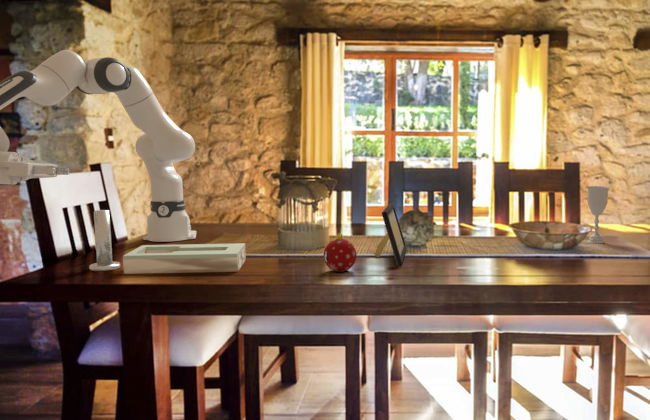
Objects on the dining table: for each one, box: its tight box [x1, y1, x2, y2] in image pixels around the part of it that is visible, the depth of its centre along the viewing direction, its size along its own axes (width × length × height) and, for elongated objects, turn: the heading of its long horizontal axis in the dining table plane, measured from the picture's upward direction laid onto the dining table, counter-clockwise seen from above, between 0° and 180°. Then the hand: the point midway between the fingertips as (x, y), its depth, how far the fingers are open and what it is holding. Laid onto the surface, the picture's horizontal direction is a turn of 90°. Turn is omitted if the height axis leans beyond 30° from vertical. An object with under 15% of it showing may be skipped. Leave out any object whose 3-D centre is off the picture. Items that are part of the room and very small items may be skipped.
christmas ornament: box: [323, 233, 358, 273], centre depth 144 cm, size 9×9×10 cm
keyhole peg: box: [89, 209, 121, 272], centre depth 153 cm, size 8×8×16 cm
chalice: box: [586, 185, 610, 244], centre depth 180 cm, size 7×7×18 cm
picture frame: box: [374, 202, 407, 266], centre depth 162 cm, size 23×9×15 cm, turn 168°
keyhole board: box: [122, 242, 247, 275], centre depth 154 cm, size 16×30×5 cm, turn 91°
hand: (61, 171), depth 151 cm, fingers open, 8 cm apart
